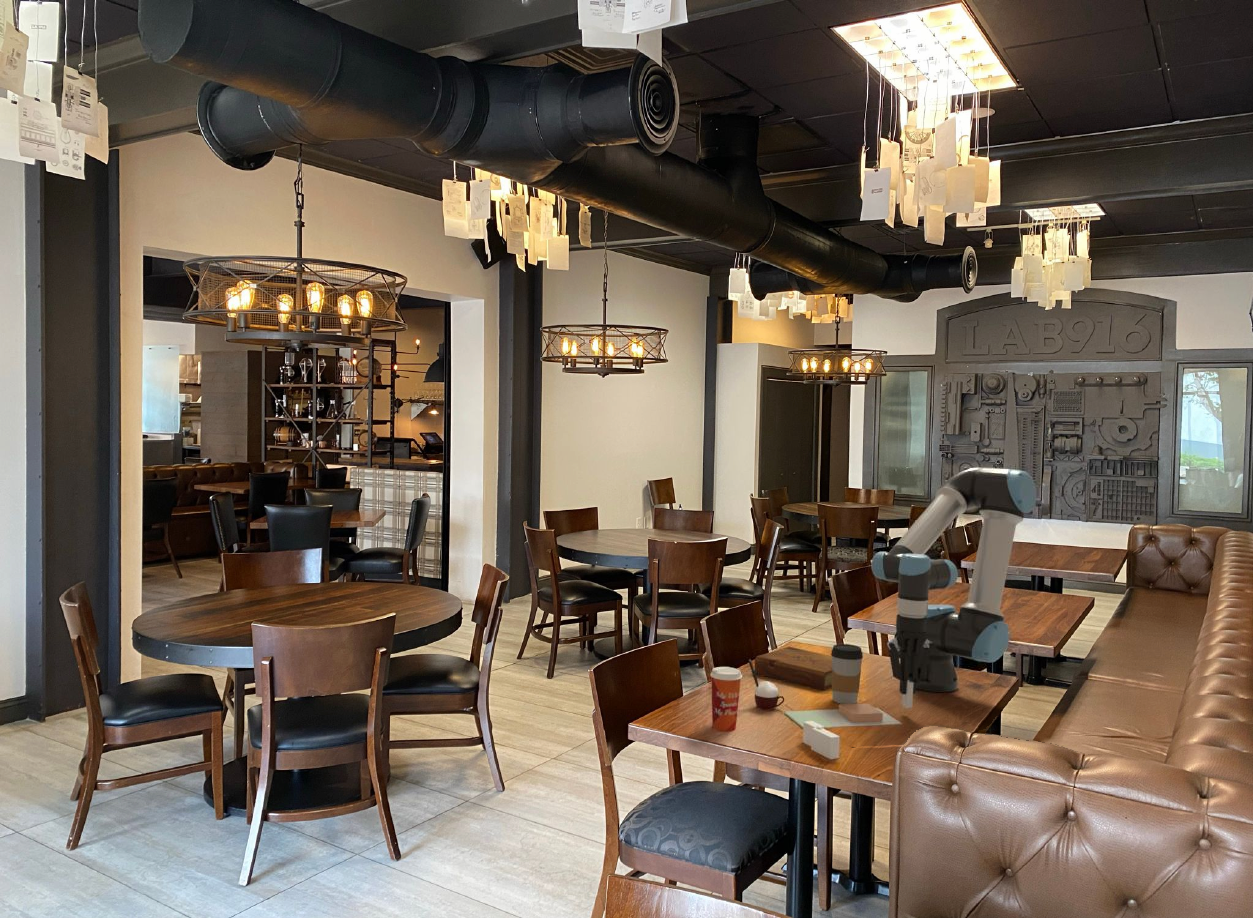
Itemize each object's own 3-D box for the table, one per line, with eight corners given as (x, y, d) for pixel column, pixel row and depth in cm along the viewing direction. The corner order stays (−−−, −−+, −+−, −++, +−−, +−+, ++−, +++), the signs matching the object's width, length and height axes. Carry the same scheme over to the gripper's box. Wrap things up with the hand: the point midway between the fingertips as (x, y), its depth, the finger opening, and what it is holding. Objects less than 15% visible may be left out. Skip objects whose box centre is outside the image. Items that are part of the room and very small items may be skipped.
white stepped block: (847, 765, 212) (848, 739, 212) (795, 760, 214) (796, 734, 214) (845, 742, 227) (846, 718, 226) (796, 738, 229) (797, 714, 229)
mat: (876, 709, 252) (877, 707, 252) (902, 725, 239) (902, 723, 239) (784, 713, 246) (784, 711, 246) (804, 730, 233) (804, 728, 233)
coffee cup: (861, 709, 252) (864, 652, 251) (828, 706, 253) (831, 649, 253) (860, 700, 260) (862, 645, 259) (828, 697, 262) (831, 642, 261)
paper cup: (715, 733, 228) (717, 675, 228) (703, 723, 236) (705, 666, 235) (745, 731, 231) (748, 674, 230) (733, 721, 238) (735, 665, 237)
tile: (867, 703, 248) (839, 704, 246) (882, 713, 241) (853, 714, 239) (867, 711, 248) (838, 712, 247) (882, 721, 241) (853, 722, 239)
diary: (754, 676, 283) (754, 656, 282) (788, 665, 297) (788, 646, 296) (823, 692, 267) (824, 672, 267) (855, 680, 281) (856, 660, 281)
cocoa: (785, 709, 250) (790, 664, 250) (774, 714, 245) (779, 668, 245) (752, 700, 256) (757, 656, 255) (741, 705, 251) (746, 660, 250)
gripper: (927, 612, 251) (921, 701, 251) (881, 612, 248) (876, 702, 248) (942, 618, 243) (937, 710, 244) (896, 618, 240) (890, 711, 241)
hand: (906, 706), depth 246 cm, fingers closed
